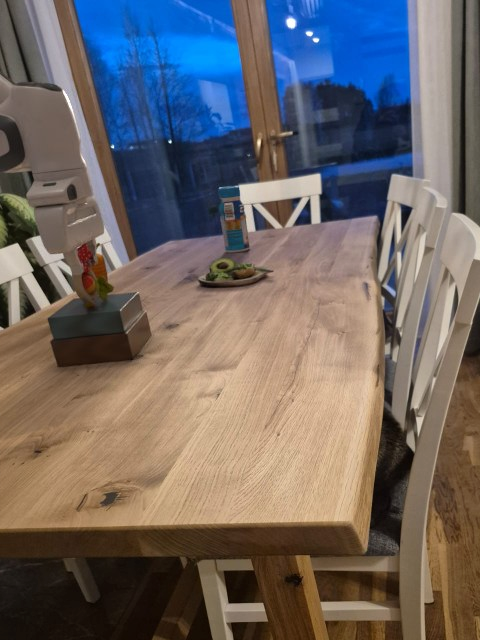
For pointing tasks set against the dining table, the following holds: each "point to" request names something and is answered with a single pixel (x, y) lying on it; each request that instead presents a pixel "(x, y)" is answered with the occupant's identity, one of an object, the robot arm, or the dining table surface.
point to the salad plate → (232, 274)
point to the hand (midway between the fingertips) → (85, 269)
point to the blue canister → (233, 220)
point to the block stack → (99, 330)
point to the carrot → (99, 266)
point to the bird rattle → (89, 281)
